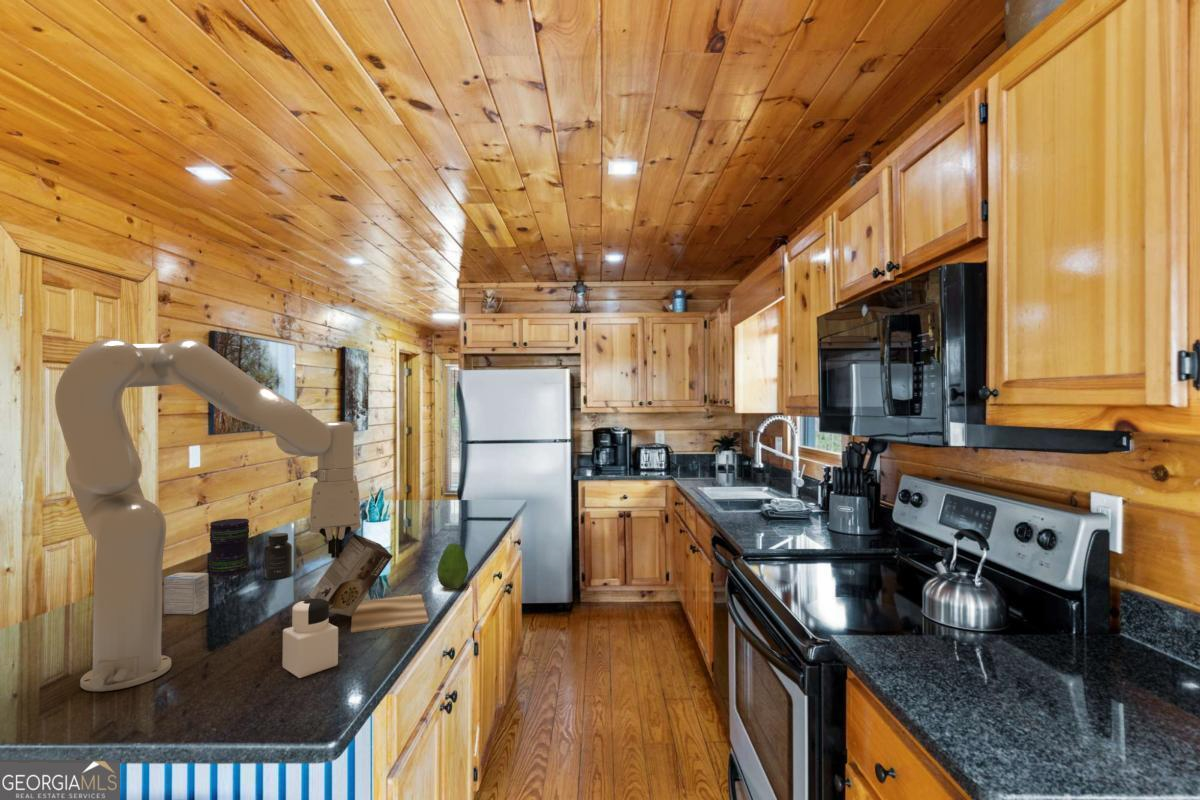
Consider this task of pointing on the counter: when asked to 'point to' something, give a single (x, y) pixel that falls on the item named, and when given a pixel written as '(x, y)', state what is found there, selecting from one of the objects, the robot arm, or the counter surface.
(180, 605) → the medicine box
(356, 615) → the wooden cutting board
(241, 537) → the dark purple cylinder
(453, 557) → the avocado
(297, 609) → the medicine bottle
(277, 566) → the supplement bottle
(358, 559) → the coffee box
